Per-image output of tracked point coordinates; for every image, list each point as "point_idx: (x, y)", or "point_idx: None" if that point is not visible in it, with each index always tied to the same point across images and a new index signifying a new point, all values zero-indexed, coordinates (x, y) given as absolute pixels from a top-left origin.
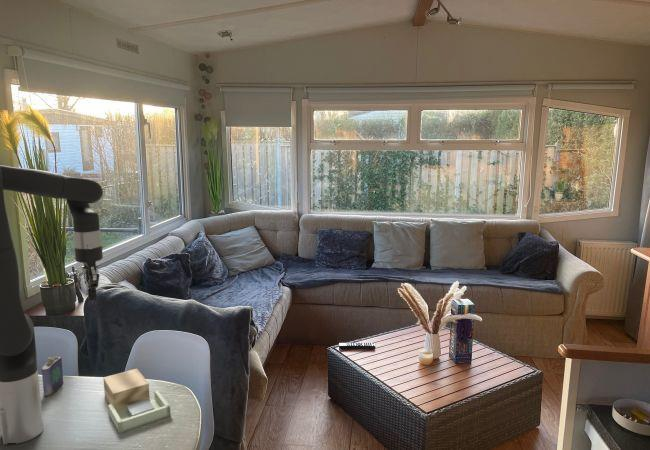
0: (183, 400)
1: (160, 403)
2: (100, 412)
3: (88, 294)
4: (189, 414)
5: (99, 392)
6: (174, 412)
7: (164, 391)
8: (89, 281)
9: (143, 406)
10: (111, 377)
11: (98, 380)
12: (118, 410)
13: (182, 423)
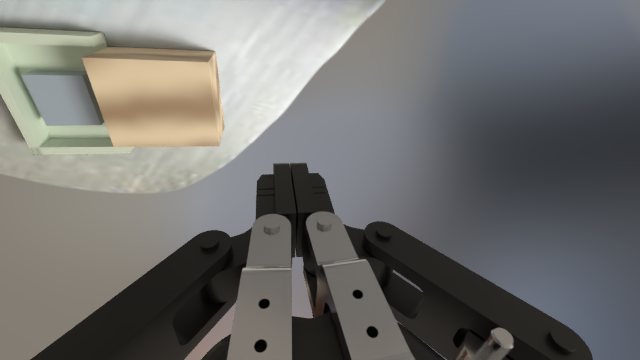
0: (110, 179)
1: (85, 141)
2: (126, 17)
3: (281, 185)
4: (41, 172)
5: (239, 44)
6: None
7: (169, 161)
8: (112, 320)
9: (62, 108)
10: (195, 80)
11: (306, 60)
12: None
13: (3, 152)
